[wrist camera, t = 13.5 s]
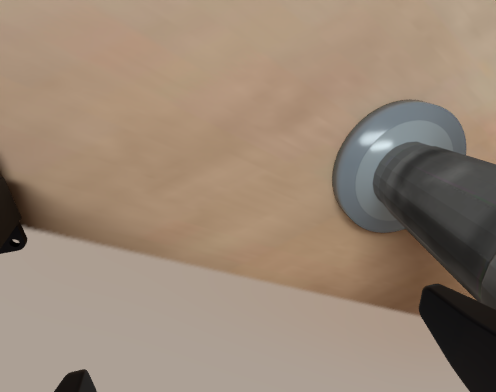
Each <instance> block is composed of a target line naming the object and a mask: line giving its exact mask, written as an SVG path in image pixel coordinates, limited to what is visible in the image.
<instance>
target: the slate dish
mask: <svg viewBox="0 0 496 392" xmlns="http://www.w3.org/2000/svg"><path fill="white" fill-rule="evenodd" d="M416 141H417V142H420V143H423V144H426V145H430V146H437V147H440V148H443V149H447V150H450V151H453V152H457V153H460V154H463V155H466V139H465V134H464V131H463V128H462V126H461V124H460V123H459V121H458V119H457V118H456V117H455V116H454V115H453V114H452V113H451V112H449V111H448V110H446V109H444V108H442V107H440V106H437V105H434V104H430V103H427V102H423V101H419V100H400V101H396V102H392V103H389V104H386V105H384V106H382V107H380V108H378V109H376V110H375V111H373V112H371V113H370V114H368V115H367V116H366V117H365V118H364V119H362V120H361V121H360V122H359V123H358V124H357V125H356V126H355V127H354V128H353V129H352V131H351V132H350V133H349V135H348V136H347V137H346V139H345V141H344V142H343V144H342V146H341V148H340V150H339V152H338V154H337V157H336V160H335V164H334V168H333V176H332V185H333V191H334V195H335V198H336V201H337V202H338V204H339V206H340V207H341V209H342V210H343V211H344V212H345V213H346V214H347V215H348V216H349V217H350V218H351V219H352V220H353V221H354V222H355V223H356V224H357V225H359V226H360V227H362V228H364V229H366V230H369V231H373V232H380V233H387V232H395V231H399V230H403V229H406V228H405V227H404V226H403V225H402V224H401V223H400V222H399V221H398V220H397V219H396V218H395V217H394V216H393V215H392V214H391V213H390V212H389V210H388V209H387V208H386V207H385V206H384V204H383V203H382V202H381V201H380V200H378V198H377V197H376V195H375V193H374V189H373V178H374V173H375V171H376V169H377V167H378V164H379V162H380V161H381V160H382V159H383V158H384V156H385V155H386V154H387V153H388V152H390V151H391V150H392V149H394V148H395V147H396V146H399V145H401V144H403V143H406V142H416Z"/></svg>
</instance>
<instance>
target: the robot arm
mask: <svg viewBox="0 0 496 392" xmlns="http://www.w3.org/2000/svg"><path fill="white" fill-rule="evenodd" d="M20 220H21V215H20V213H19V211H18V208H17V206H16V204H15V202H14V200H13V197H12V195H11V193H10V191H9V188H8V186H7V184H6V182H5V179H4V178H3V177H1V176H0V254H1V253H7V252H12V251H17V250H21V249H22V248H24V246H25V244H26V243H27V237H26V235H25V233H24V230H23V228H22V226H21V224H20ZM12 239H16V240H18V241H19V242H20V243H15V242H13V240H12ZM419 312H420V315H421V317H422V319H423V320H424V322H425V324H426V325H427V327H428V328H429V330H430V332H431V334H432V335H433V337H434V339H435V340H436V342H437V344H438V345H439V347H440V348H441V350H442V352H443V353H444V355H445V357H446V358H447V360H448V362H449V363H450V365H451V366H452V368H453V369H454V371H455V372H456V373H457V375H458V376H459V378H460V379H461V380H462V382H463V383H464V384H465V386H466V387H467V388H468V390H469V391H470V392H496V309H494V308H492V307H489V306H487V305H485V304H483V303H481V302H478V301H476V300H474V299H472V298H470V297H467V296H465V295H463V294H461V293H459V292H456V291H454V290H452V289H450V288H447V287H445V286H443V285H441V284H433V285H429V286H425V287H424V288H423V290H422V295H421V299H420V304H419ZM54 392H96V388H95V386H94V384H93V382H92V380H91V377H90V375H89V373H88V371H87V370H85V369H84V370H79V371H75V372H71V373H68V374H67V375H66V376H65V377H64V378H63V380H62V381H61V383H60V384H59V386H58V387H57V389H56V390H55V391H54Z"/></svg>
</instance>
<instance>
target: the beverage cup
mask: <svg viewBox="0 0 496 392" xmlns="http://www.w3.org/2000/svg"><path fill="white" fill-rule="evenodd" d="M373 189H374V193H375V195H376V197H377V198H378V200H380V201H381V202H382V203H383V204H384V206H385V207H386V208H387V209H388V210H389V212H390V213H391V214H392V215H393V216H394V217H395V218H396V219H397V220H398V221H399V222H400V223H401V224H402V225H403V226H404V227H405V228H406V230H407V231H408V232H409V233H410V234H411V235H412V236H413V237H414V238H415V239H416V240H417V241H418V242H419V243H420V244H421V245H422V246H423V247H424V248H425V249H426V250H427V251H428V252H429V253H430V254H431V255H432V256H433V257H434V258H435V259H436V260H437V261H438V262H439V263H440V264H441V265H442V266H443V267H444V268H445V269H446V270H447V271H448V272H449V273H450V274H451V275H452V276H453V277H454V278H455V279H456V280H457V281H458V282H459V283H460V284H461V285H462V286H463V287H464V288H465V289H466V290H467V291H468V292H469V293H470V294H471V295H472V296H473V297H474V298H475V299H476V300H477V301H478V302H481V303H483V304H485V305H487V306H489V307H492V308H494V309H496V164H492V163H489V162H486V161H483V160H479V159H476V158H473V157H470V156H466V155H463V154H460V153H457V152H453V151H450V150H447V149H443V148H440V147H437V146H430V145H426V144H423V143H420V142H417V141H416V142H406V143H403V144H401V145H399V146H396V147H395V148H394V149H392V150H391V151H390V152H388V153H387V154H386V155H385V156H384V158H383V159H382V160H381V161H380V162H379V164H378V167H377V169H376V171H375V173H374V178H373Z"/></svg>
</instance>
